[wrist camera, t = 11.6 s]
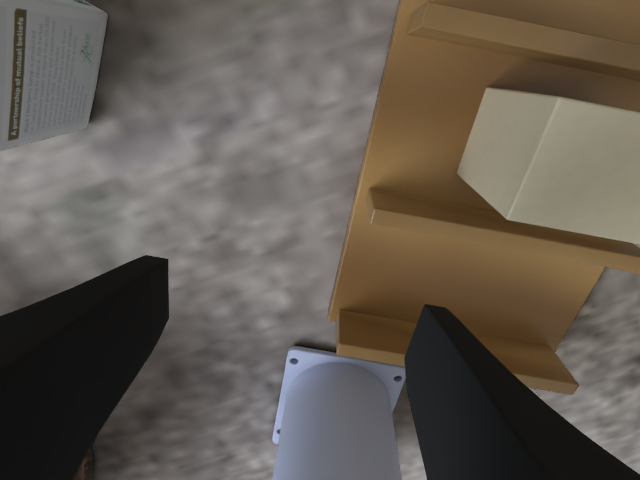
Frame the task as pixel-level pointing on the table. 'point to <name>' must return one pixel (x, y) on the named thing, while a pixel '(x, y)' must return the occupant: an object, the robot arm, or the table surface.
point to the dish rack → (460, 198)
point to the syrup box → (47, 67)
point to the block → (557, 163)
